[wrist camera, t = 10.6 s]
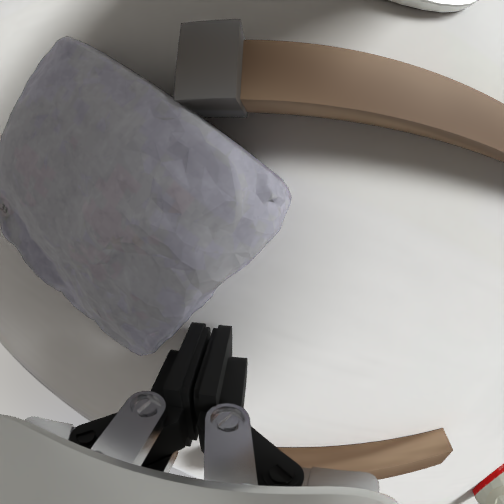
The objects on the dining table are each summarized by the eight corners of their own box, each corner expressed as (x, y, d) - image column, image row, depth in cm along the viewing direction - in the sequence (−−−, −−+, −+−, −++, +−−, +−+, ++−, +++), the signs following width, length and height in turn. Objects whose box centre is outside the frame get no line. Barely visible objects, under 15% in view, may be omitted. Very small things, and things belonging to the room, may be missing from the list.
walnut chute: (207, 60, 9) (181, 23, 6) (537, 139, 8) (581, 145, 5) (214, 456, 17) (207, 496, 13) (431, 443, 16) (443, 474, 12)
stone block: (187, 321, 15) (314, 175, 10) (147, 387, 11) (313, 217, 6) (41, 194, 14) (102, 35, 9) (-18, 224, 9) (24, 25, 5)
